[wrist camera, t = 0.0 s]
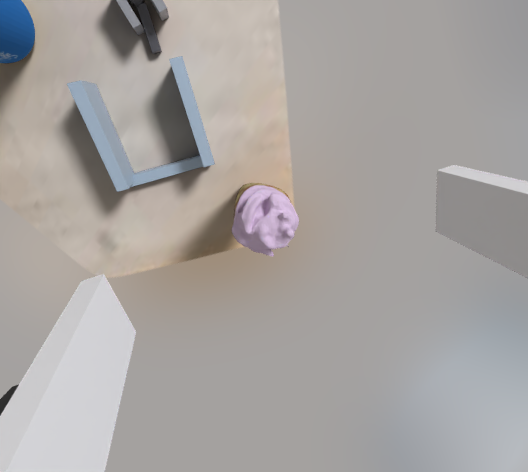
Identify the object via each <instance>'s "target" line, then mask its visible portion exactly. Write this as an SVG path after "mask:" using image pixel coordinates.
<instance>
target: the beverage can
mask: <svg viewBox="0 0 528 472" xmlns="http://www.w3.org/2000/svg"><path fill="white" fill-rule="evenodd" d="M34 41H35V29H34V24H33V20H32V18H31V15H30V13H29V11H28V10H27V8H26V6H25V5H24V3H23V2H22V1H21V0H0V63H13V62H17V61H20V60H21V59H23V58H25V57H26V56H27V55H28V54H29V53H30V51H31V49H32V47H33V45H34Z"/></svg>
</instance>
